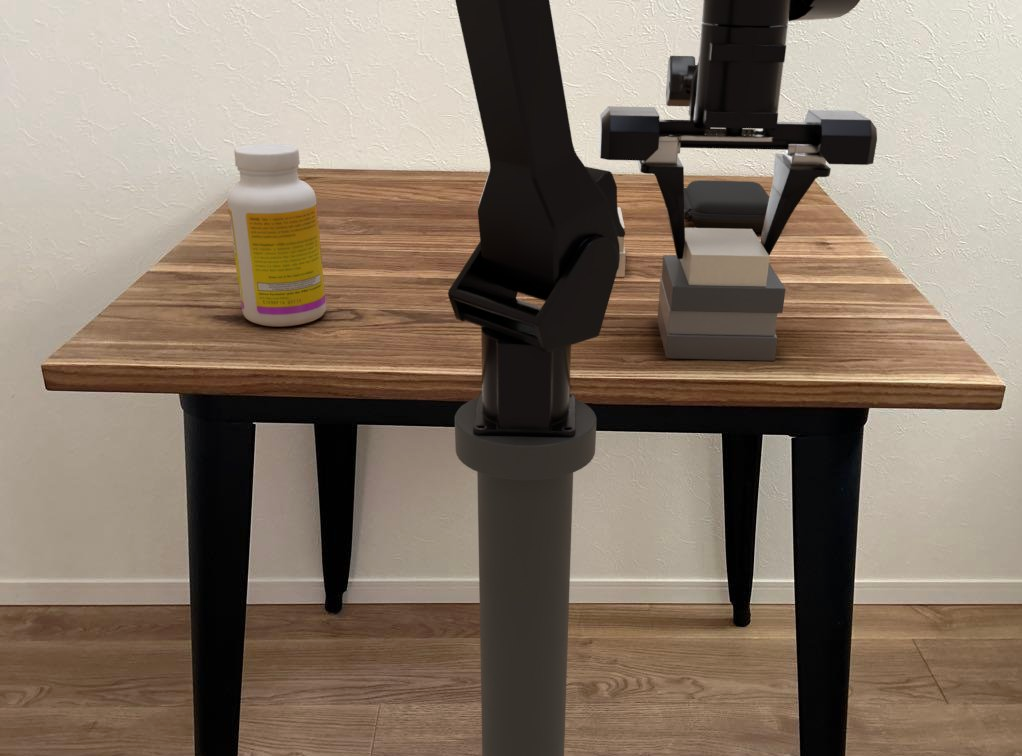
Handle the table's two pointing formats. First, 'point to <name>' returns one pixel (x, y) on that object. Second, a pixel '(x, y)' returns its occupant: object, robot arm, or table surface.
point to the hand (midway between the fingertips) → (721, 258)
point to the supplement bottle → (275, 238)
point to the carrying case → (726, 204)
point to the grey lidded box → (717, 317)
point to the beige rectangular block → (724, 257)
